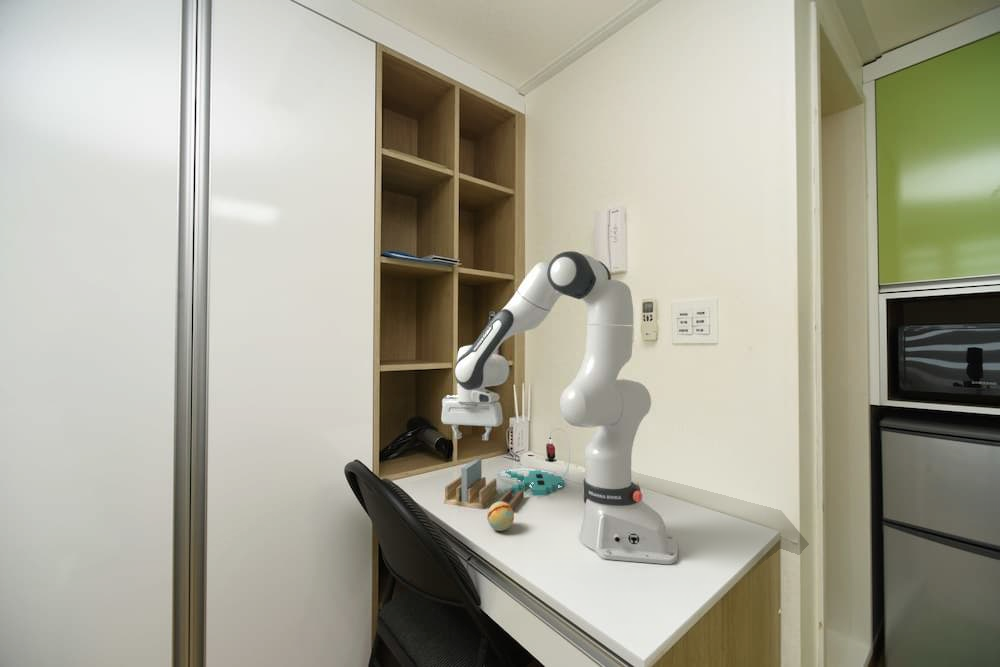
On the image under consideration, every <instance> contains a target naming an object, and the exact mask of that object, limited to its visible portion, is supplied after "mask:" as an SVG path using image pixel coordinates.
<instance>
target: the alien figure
mask: <svg viewBox="0 0 1000 667" xmlns="http://www.w3.org/2000/svg"><path fill="white" fill-rule="evenodd" d="M509 470H510V469H508V470H507V469H506V470H504V474H505V473H507V474H509V475H511V477H510V478H517V479H518V480H524V481H523V482H517V484H511V487H504V494H505V493H506V492H507V491H508V490H509V489H510V488H511V489H513V494H517V493H518V492H519V491H520V490H524V491H526V489H527V488H526V487H529V485H530V484H531V483H532V482H533V483H534V484H531V486H532V490H531V493H532V494H531V495H532V496H547V494H552V493H553V491H559V488H558V485H560V486H562V487H564V488H565V482H564V480H563V477H562V475H555V474H554V473H548V471H542V470H541V469H539V470H538V469H535V471H529V470H528V475H524V473H518V471H513V472H512V470H511V471H509ZM507 471H508V472H507ZM517 479H516V480H517ZM518 480H517V481H518Z"/></svg>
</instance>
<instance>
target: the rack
mask: <svg viewBox="0 0 1000 667" xmlns="http://www.w3.org/2000/svg"><path fill="white" fill-rule="evenodd" d="M486 479H487V478H486V477H485V476H484V477H483V476H482V479H481V480H479V481H478V482H477V483H476V484H474V485H473V486H472V487H470V488H469V489H468V490H467V497H468V502H462V482H461V475H460V476H459V477H457V478H456V479H455V480H453V481H451V482H449V483H448V484H447V485H445V486H444V499H443V503H444V504H446V505H454V506H460V507H467V508H474V509H478V510H479V509H480V510H484V509H485V508H486V507H487V505H489V504H490V503H491V502H492V501H493V500H494V499H495V498H496V497H497V496H498V494H499V493H498V492H499V491H497V486H498V485H497V478H493V479H492V480H491V481H489V482H488V483H486V482H487V480H486Z"/></svg>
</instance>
